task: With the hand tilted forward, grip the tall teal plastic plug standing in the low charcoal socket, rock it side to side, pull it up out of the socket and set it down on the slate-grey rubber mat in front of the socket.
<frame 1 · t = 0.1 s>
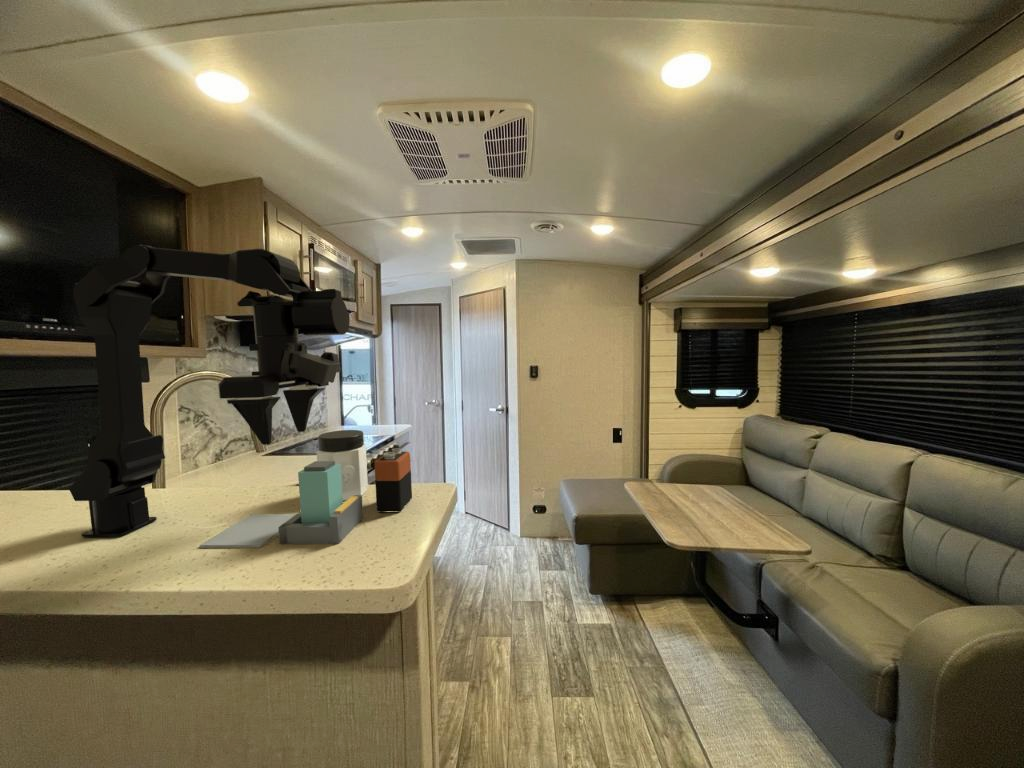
hand: (285, 437, 63), 15 cm above the table, tool pointing down, fingers open, 9 cm apart
jar: (344, 495, 79), on the table
mat: (255, 530, 64), on the table
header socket: (324, 530, 63), on the table
plug: (324, 530, 63), resting in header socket
battery: (395, 506, 73), on the table
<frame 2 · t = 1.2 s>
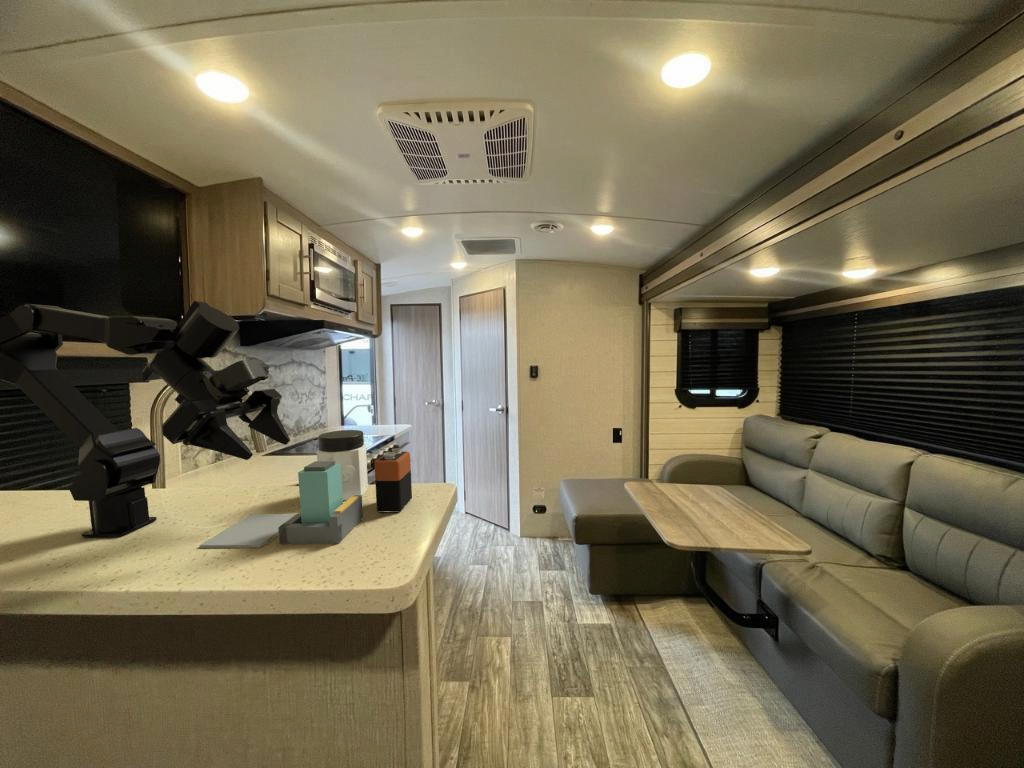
hand: (270, 449, 63), 13 cm above the table, tool tilted 45°, fingers open, 9 cm apart
nothing on the table moved.
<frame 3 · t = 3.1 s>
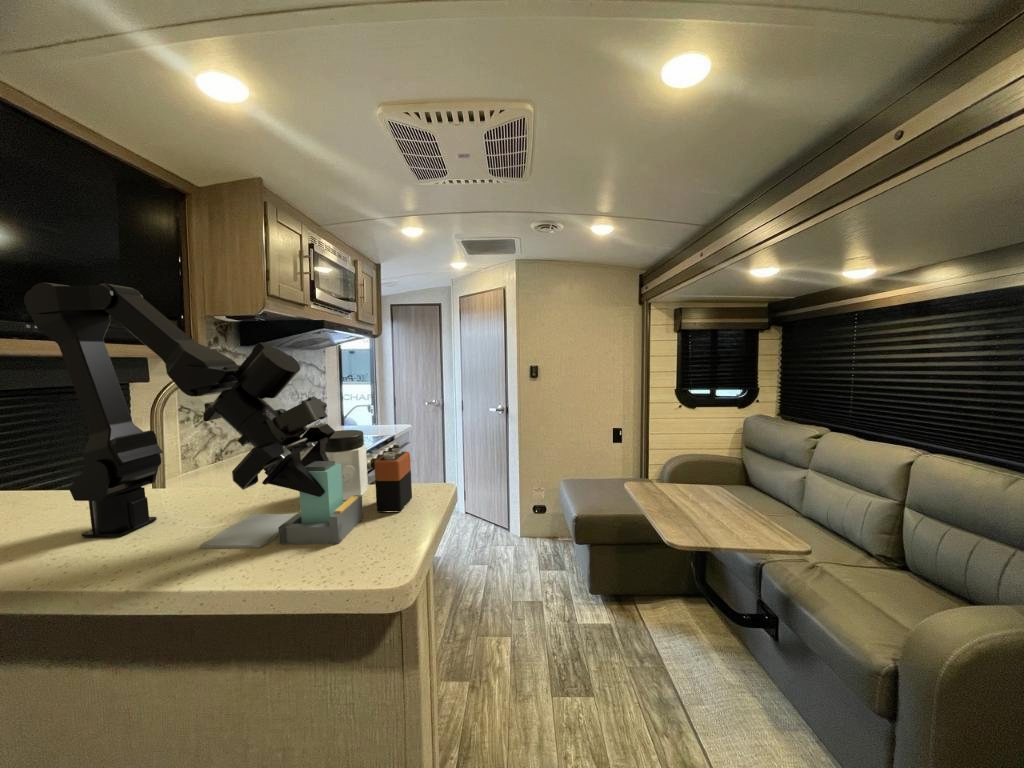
hand: (330, 489, 63), 7 cm above the table, tool tilted 45°, fingers closed on plug, 4 cm apart
plug: (324, 530, 63), resting in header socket, touching gripper
everything else where it was.
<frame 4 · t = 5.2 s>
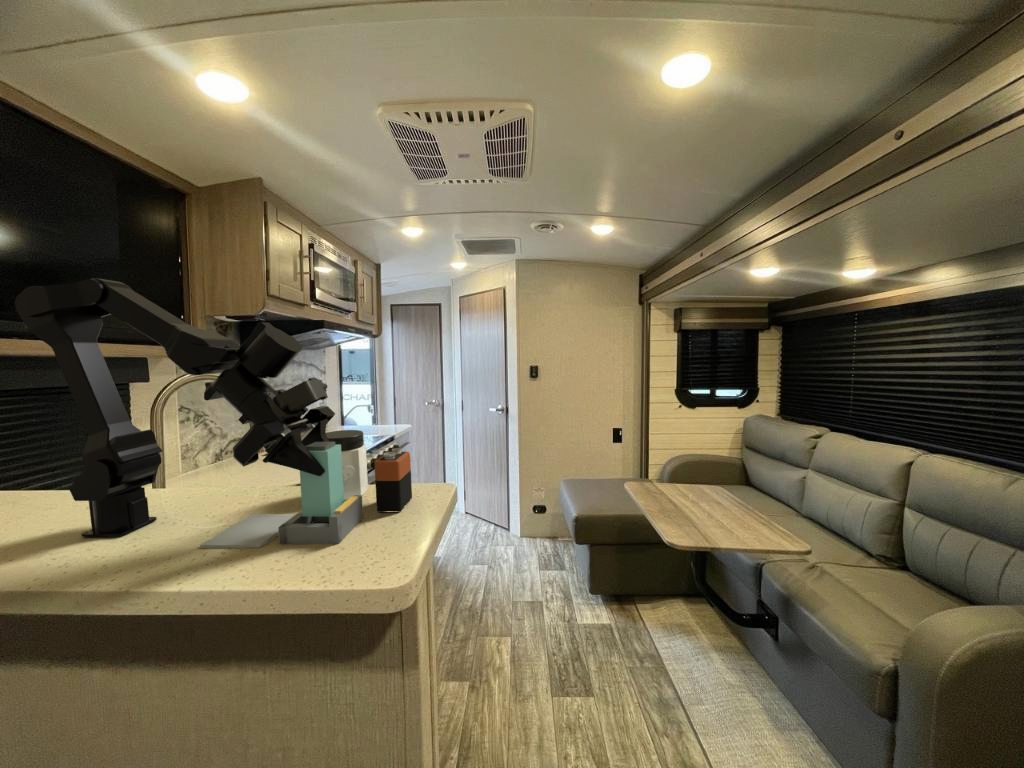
hand: (330, 469, 63), 10 cm above the table, tool tilted 45°, fingers closed on plug, 4 cm apart
plug: (324, 510, 64), point 3 cm above the table, touching gripper
everything else where it was.
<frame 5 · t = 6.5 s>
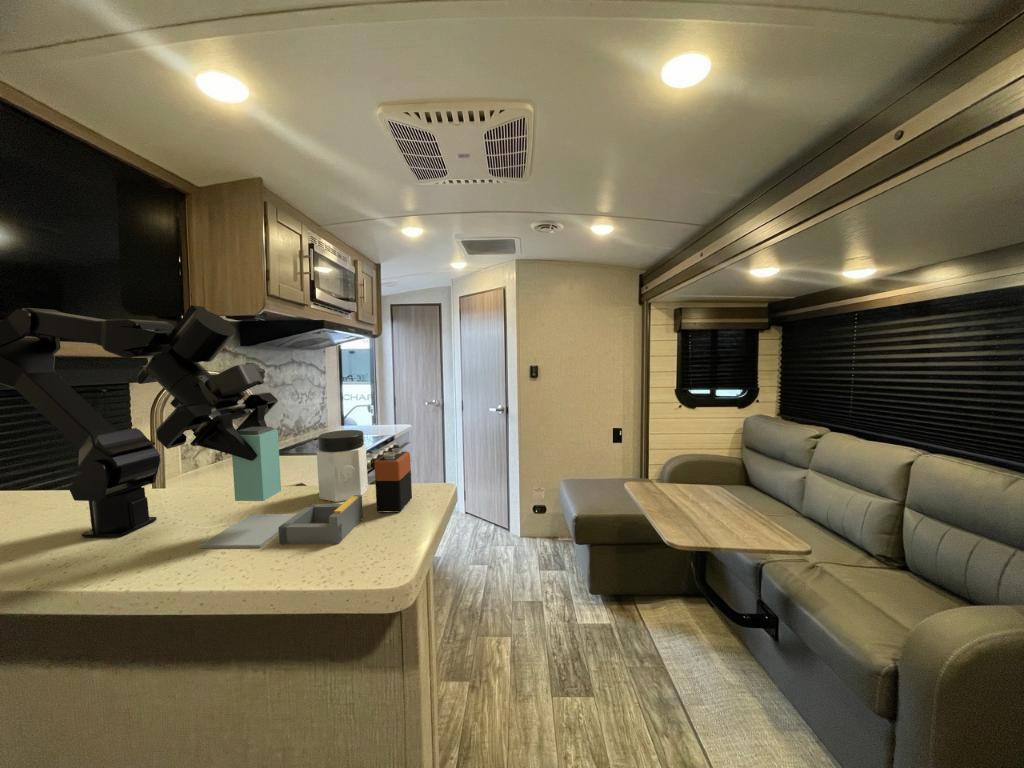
hand: (265, 454, 63), 12 cm above the table, tool tilted 45°, fingers closed on plug, 4 cm apart
plug: (258, 495, 63), point 6 cm above the table, touching gripper
everything else where it was.
when the fingers open (7 cm above the table, at t = 7.7 s): plug stays where it is, resting on mat.
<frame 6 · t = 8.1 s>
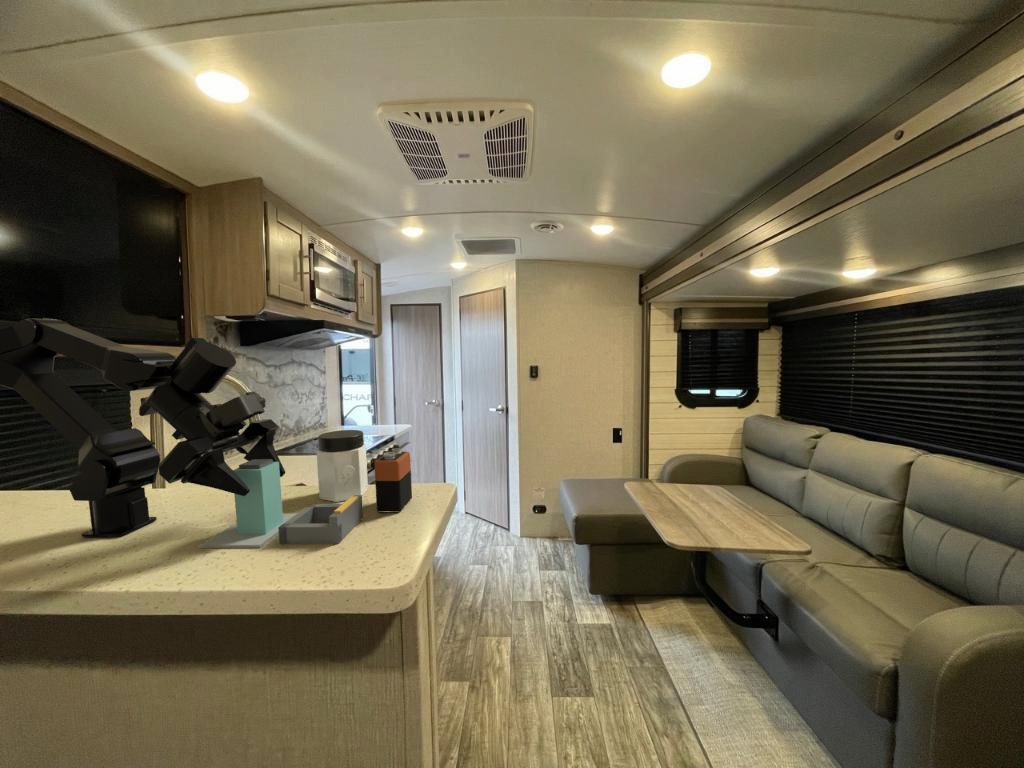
hand: (266, 483, 63), 8 cm above the table, tool tilted 45°, fingers open, 8 cm apart
plug: (261, 528, 64), resting on mat
everything else where it was.
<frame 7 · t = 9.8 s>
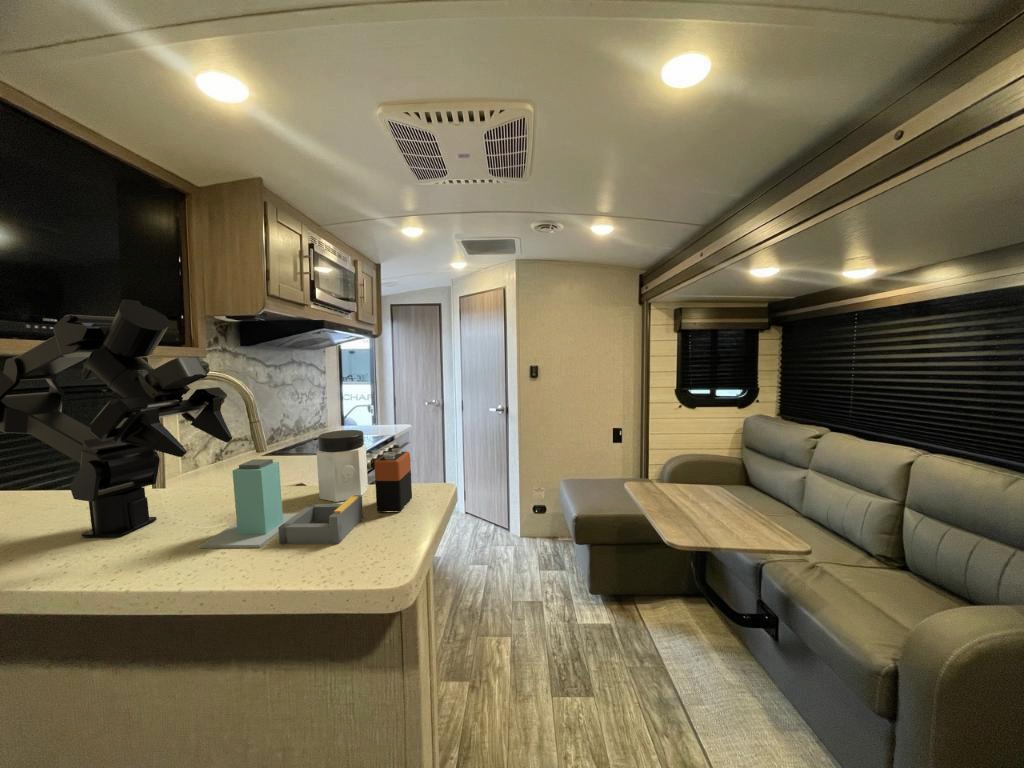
hand: (208, 447, 63), 13 cm above the table, tool tilted 45°, fingers open, 9 cm apart
nothing on the table moved.
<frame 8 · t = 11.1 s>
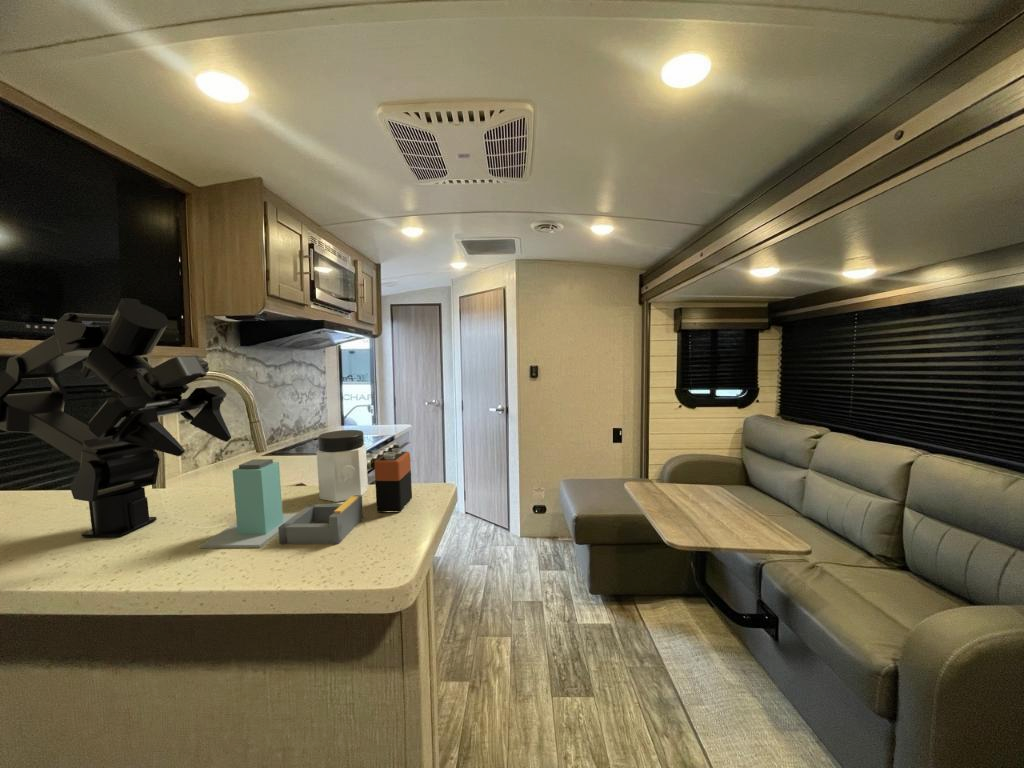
hand: (207, 446, 63), 14 cm above the table, tool tilted 45°, fingers open, 9 cm apart
nothing on the table moved.
at the end: plug inside the target area (1.2 cm from its centre), resting on mat; plug touching mat; the gripper is holding nothing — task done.
